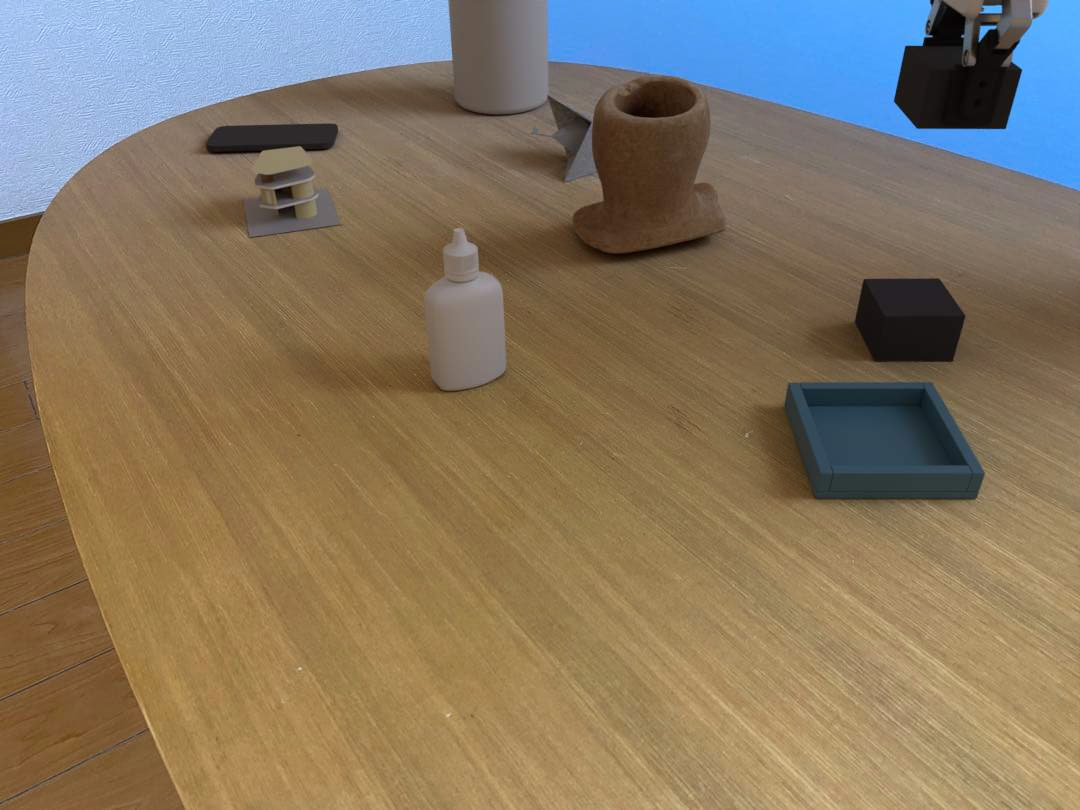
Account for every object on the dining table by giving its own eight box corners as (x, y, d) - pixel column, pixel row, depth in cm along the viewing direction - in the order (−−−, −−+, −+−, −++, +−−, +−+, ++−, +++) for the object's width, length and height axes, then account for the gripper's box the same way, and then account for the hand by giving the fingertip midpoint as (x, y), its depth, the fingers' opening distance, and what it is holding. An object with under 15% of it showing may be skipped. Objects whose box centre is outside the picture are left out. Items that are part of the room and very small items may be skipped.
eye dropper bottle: (435, 361, 73) (421, 217, 66) (507, 360, 73) (501, 216, 66) (429, 393, 69) (414, 244, 62) (505, 392, 69) (498, 243, 62)
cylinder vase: (567, 99, 126) (567, -112, 112) (501, 123, 119) (492, -100, 104) (502, 82, 133) (494, -119, 119) (436, 103, 126) (419, -109, 111)
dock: (926, 406, 67) (932, 381, 66) (977, 499, 59) (985, 473, 58) (783, 406, 67) (787, 382, 66) (815, 499, 59) (820, 473, 58)
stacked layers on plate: (243, 199, 100) (232, 149, 97) (327, 188, 102) (320, 138, 99) (249, 237, 92) (238, 184, 89) (341, 224, 94) (333, 172, 91)
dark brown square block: (976, 102, 69) (990, 45, 67) (1006, 129, 64) (1022, 69, 62) (893, 101, 69) (905, 45, 67) (916, 129, 64) (930, 69, 62)
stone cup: (605, 278, 84) (610, 111, 75) (560, 226, 93) (559, 71, 84) (755, 252, 88) (776, 90, 79) (698, 204, 97) (711, 54, 88)
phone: (331, 143, 111) (203, 146, 110) (332, 150, 111) (204, 153, 111) (338, 122, 117) (217, 125, 116) (339, 129, 117) (218, 132, 117)
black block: (928, 321, 77) (939, 278, 74) (953, 361, 72) (966, 315, 69) (854, 322, 77) (863, 278, 75) (874, 361, 72) (884, 316, 70)
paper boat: (628, 169, 102) (552, 158, 98) (602, 204, 107) (528, 195, 103) (607, 83, 107) (533, 70, 103) (583, 120, 112) (512, 109, 108)
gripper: (1159, -185, 49) (1053, 153, 59) (1031, -200, 63) (963, 74, 73) (1012, -183, 49) (932, 152, 59) (917, -200, 63) (866, 74, 73)
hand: (950, 106), depth 66 cm, fingers closed on dark brown square block, 6 cm apart
